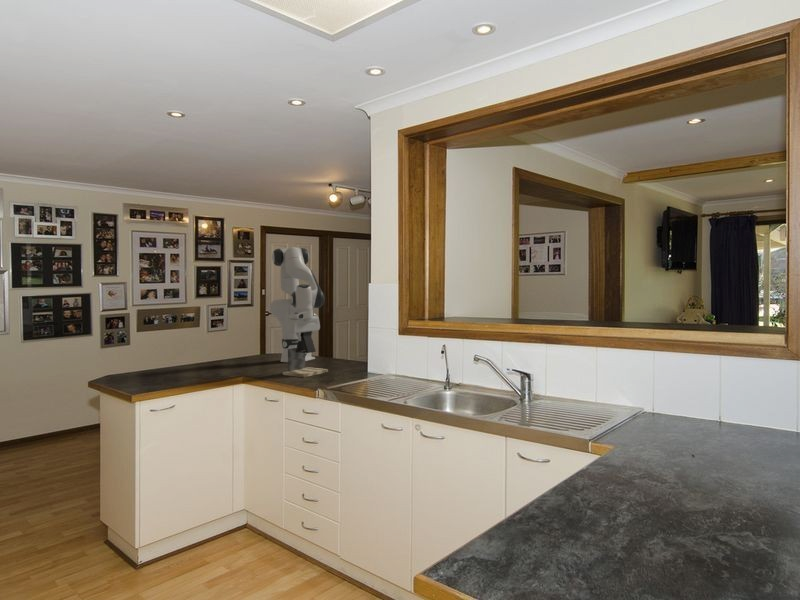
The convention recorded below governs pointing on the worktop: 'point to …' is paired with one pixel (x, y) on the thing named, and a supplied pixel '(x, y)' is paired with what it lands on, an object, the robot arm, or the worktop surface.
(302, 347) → the door stopper
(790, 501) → the worktop surface
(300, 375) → the l-shaped stand
